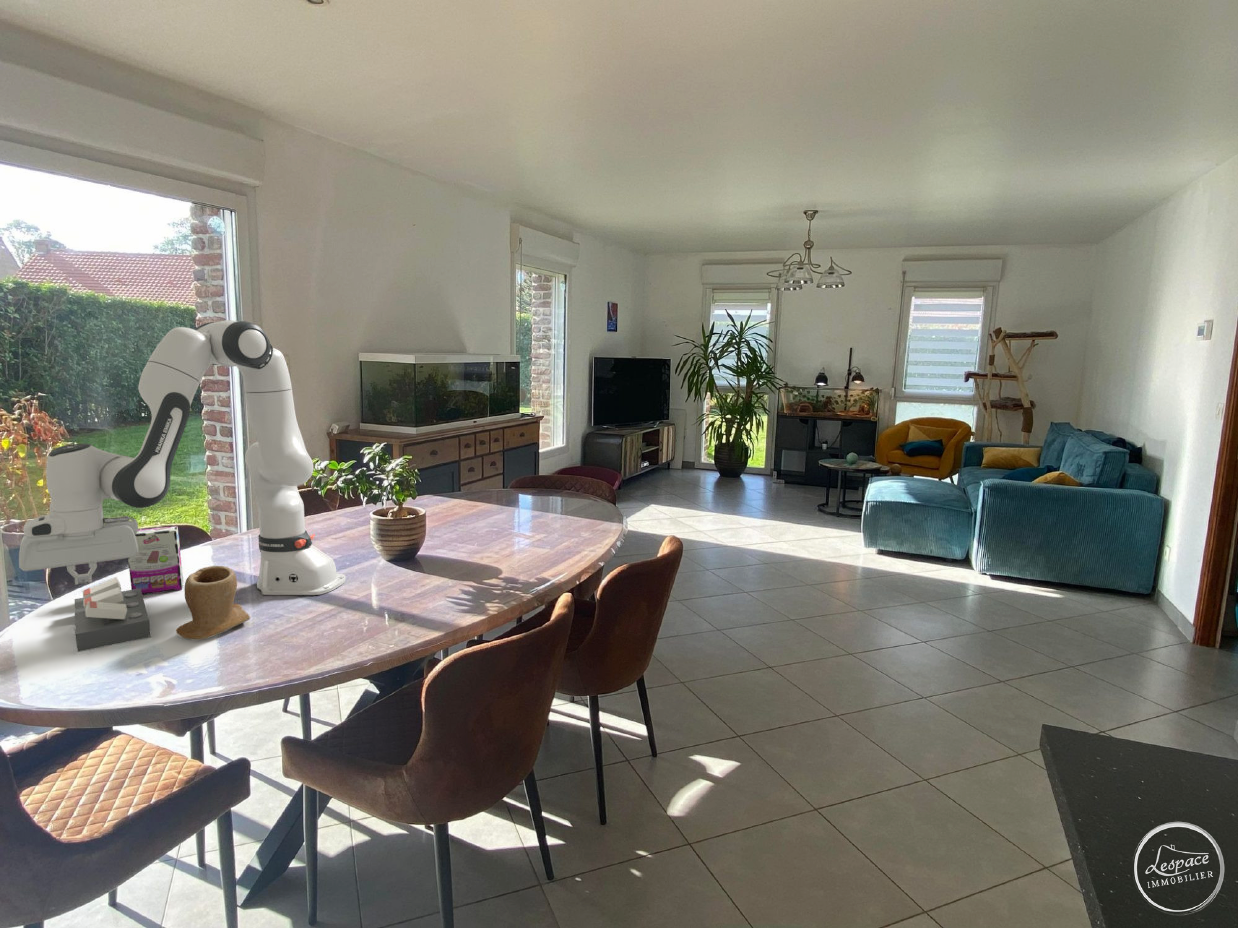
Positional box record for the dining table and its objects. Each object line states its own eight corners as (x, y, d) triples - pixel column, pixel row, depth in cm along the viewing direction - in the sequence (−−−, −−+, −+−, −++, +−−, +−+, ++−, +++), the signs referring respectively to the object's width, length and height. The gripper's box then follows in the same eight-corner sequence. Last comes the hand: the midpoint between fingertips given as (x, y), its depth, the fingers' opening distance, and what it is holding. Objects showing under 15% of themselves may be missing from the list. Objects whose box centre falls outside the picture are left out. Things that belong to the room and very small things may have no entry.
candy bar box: (184, 584, 187) (178, 525, 184) (182, 590, 183) (176, 530, 180) (134, 590, 182) (127, 529, 179) (131, 596, 178) (124, 534, 175)
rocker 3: (123, 612, 157) (126, 603, 157) (124, 619, 153) (127, 609, 153) (85, 610, 152) (88, 600, 152) (85, 616, 149) (88, 607, 149)
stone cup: (204, 648, 150) (198, 582, 147) (168, 637, 155) (162, 573, 152) (265, 623, 164) (261, 562, 161) (230, 614, 169) (225, 555, 166)
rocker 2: (122, 594, 162) (118, 586, 162) (123, 600, 159) (120, 592, 158) (86, 607, 159) (82, 598, 158) (87, 613, 155) (83, 605, 154)
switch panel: (142, 603, 174) (140, 583, 173) (150, 636, 155) (148, 614, 154) (76, 614, 166) (73, 594, 165) (77, 651, 147) (74, 628, 146)
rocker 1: (120, 583, 168) (116, 576, 167) (121, 589, 165) (117, 581, 164) (86, 598, 165) (82, 590, 164) (87, 604, 161) (82, 596, 160)
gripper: (136, 511, 156) (140, 570, 158) (16, 523, 144) (23, 587, 146) (138, 517, 151) (143, 578, 153) (14, 530, 139) (21, 596, 141)
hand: (83, 583), depth 150 cm, fingers closed
